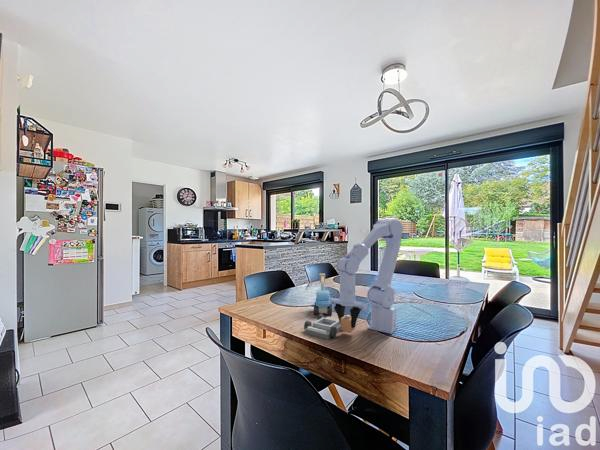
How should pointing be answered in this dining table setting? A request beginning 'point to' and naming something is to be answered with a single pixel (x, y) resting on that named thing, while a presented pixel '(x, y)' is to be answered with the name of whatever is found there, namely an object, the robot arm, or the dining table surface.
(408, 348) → the dining table surface
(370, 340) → the dining table surface
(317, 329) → the chassis
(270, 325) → the dining table surface
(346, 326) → the block
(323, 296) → the toy excavator
